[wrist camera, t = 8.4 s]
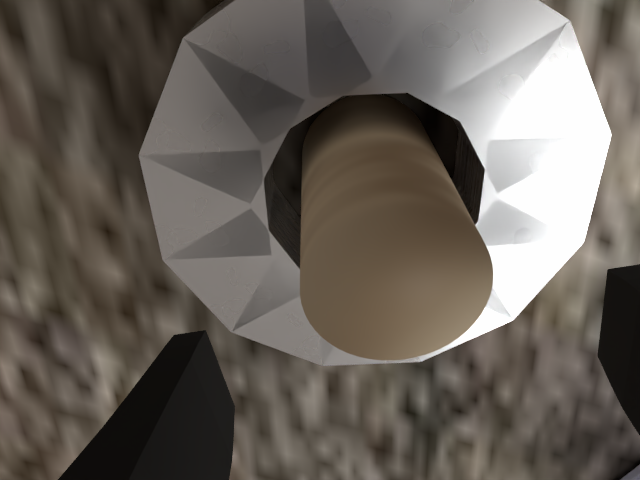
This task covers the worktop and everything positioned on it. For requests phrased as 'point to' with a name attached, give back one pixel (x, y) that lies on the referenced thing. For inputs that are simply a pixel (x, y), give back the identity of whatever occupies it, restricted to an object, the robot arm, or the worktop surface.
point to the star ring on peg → (363, 79)
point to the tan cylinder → (385, 235)
